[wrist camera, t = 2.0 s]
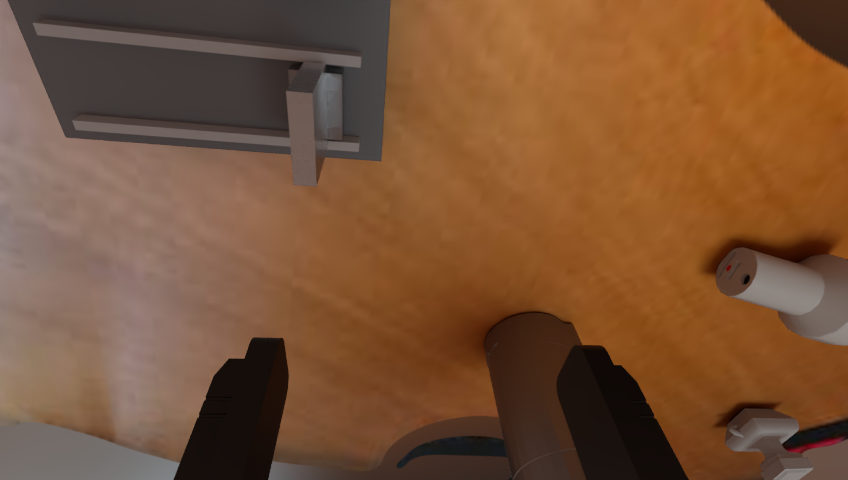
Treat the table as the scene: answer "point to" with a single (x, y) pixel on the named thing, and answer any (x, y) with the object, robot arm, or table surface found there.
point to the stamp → (768, 442)
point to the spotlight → (792, 290)
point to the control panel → (206, 68)
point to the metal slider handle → (313, 117)
